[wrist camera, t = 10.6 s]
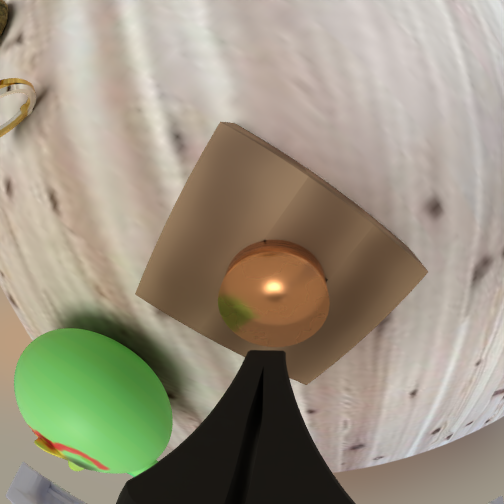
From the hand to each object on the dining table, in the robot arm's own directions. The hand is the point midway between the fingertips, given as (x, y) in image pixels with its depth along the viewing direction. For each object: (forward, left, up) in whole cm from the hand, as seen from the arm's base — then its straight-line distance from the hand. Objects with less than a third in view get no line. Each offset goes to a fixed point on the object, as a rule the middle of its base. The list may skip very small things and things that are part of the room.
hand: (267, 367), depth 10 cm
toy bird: (+7, +21, -10) cm, 24 cm away
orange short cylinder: (0, 0, -9) cm, 9 cm away
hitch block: (0, 0, -9) cm, 9 cm away
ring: (+25, 0, -10) cm, 27 cm away
